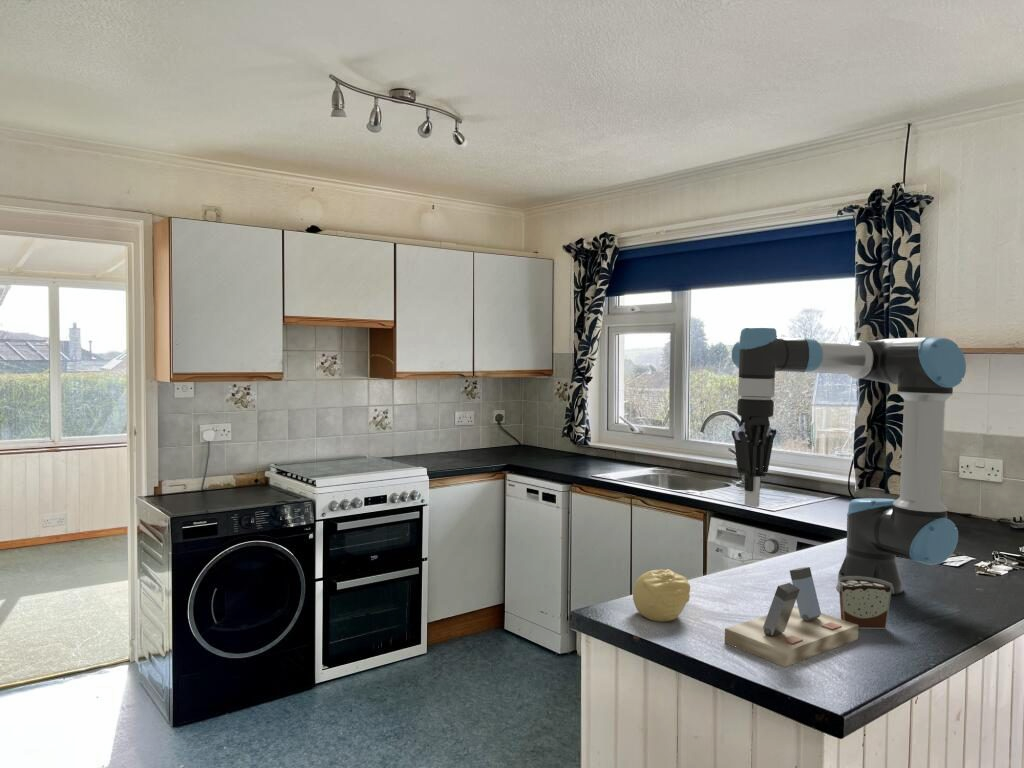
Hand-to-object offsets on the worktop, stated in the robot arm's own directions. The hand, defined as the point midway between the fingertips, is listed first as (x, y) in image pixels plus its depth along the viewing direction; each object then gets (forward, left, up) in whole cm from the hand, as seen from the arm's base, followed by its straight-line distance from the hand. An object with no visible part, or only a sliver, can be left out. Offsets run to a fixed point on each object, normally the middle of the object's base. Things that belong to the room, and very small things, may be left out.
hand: (751, 505), depth 160 cm
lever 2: (-7, +11, -23) cm, 27 cm away
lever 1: (+7, +11, -23) cm, 27 cm away
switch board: (0, +11, -26) cm, 29 cm away
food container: (-22, +13, -27) cm, 37 cm away
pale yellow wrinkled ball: (+13, -14, -27) cm, 33 cm away
